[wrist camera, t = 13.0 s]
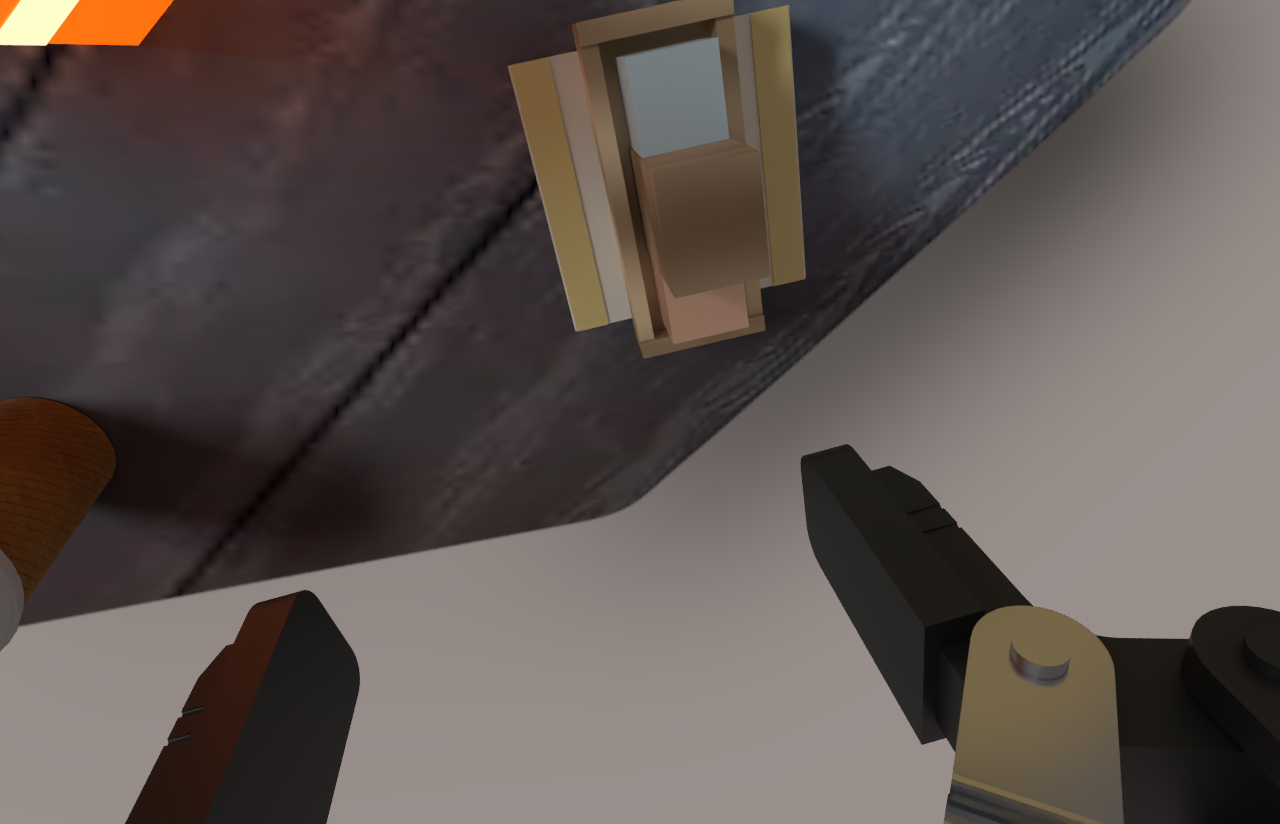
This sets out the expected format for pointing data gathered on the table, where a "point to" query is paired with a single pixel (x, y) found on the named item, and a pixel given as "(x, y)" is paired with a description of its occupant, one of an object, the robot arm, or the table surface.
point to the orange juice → (78, 21)
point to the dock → (577, 181)
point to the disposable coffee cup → (43, 492)
